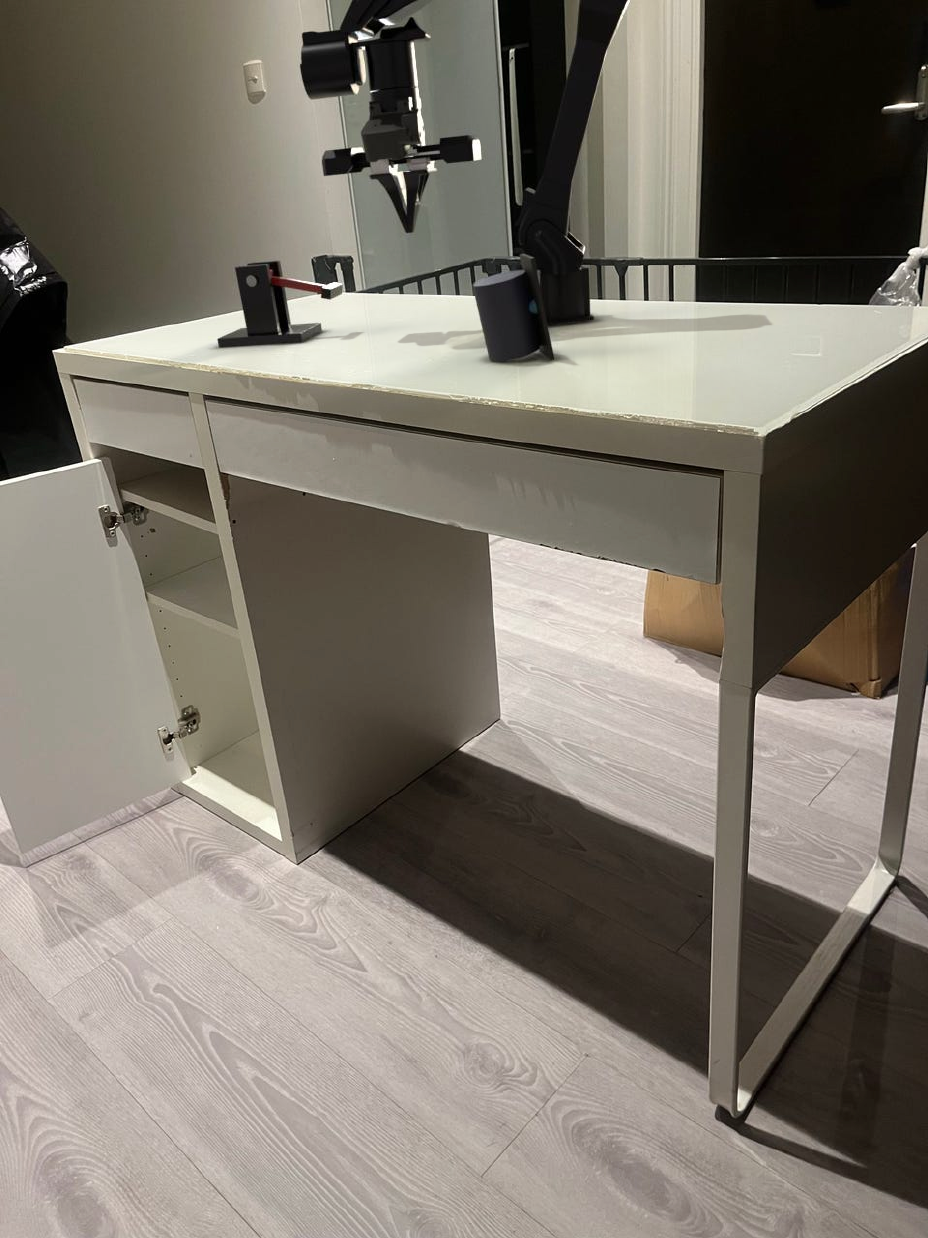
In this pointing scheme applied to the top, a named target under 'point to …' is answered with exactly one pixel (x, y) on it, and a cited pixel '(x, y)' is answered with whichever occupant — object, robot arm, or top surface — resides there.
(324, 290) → the paintbrush
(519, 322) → the speaker
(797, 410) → the top surface
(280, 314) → the lever switch
